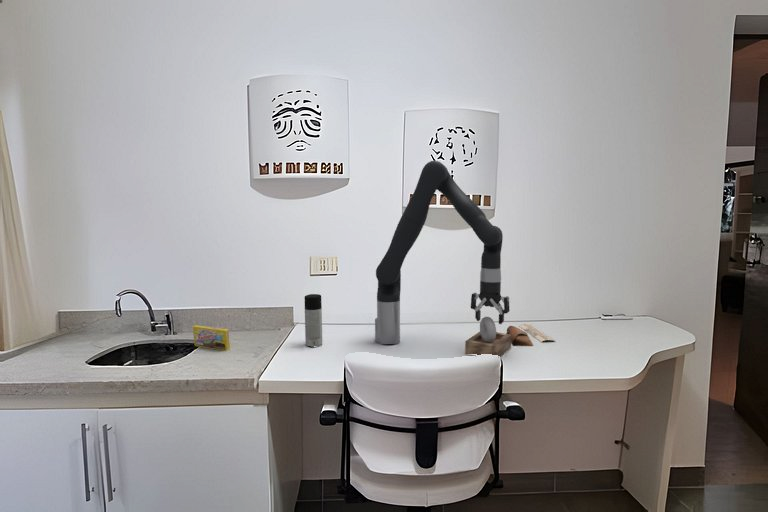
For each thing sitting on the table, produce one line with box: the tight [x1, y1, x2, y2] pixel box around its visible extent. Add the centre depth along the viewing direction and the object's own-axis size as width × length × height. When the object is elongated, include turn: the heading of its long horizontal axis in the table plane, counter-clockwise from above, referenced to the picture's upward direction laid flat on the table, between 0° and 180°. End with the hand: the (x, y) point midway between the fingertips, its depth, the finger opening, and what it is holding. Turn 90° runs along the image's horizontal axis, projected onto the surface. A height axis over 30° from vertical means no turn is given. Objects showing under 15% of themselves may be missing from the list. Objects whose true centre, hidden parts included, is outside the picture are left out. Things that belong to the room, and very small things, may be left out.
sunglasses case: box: [506, 325, 534, 347], centre depth 184 cm, size 18×7×7 cm
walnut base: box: [464, 331, 512, 358], centre depth 170 cm, size 12×17×5 cm
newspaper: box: [518, 323, 556, 343], centre depth 192 cm, size 24×7×2 cm, turn 5°
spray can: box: [304, 293, 323, 348], centre depth 177 cm, size 7×7×20 cm
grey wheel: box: [479, 316, 497, 343], centre depth 170 cm, size 10×4×10 cm, turn 12°
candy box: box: [192, 324, 231, 351], centre depth 174 cm, size 16×2×8 cm, turn 68°
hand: (489, 322), depth 169 cm, fingers open, 8 cm apart
